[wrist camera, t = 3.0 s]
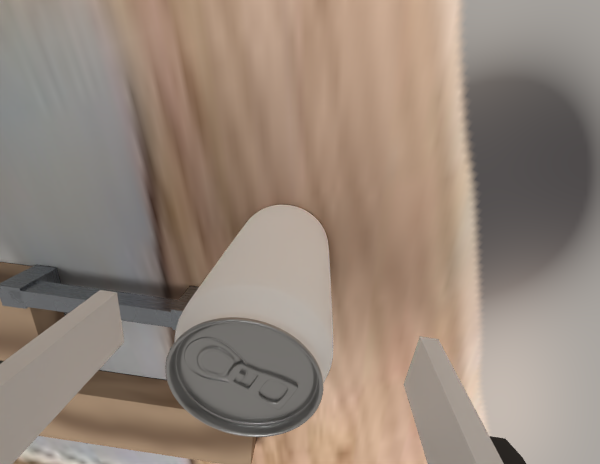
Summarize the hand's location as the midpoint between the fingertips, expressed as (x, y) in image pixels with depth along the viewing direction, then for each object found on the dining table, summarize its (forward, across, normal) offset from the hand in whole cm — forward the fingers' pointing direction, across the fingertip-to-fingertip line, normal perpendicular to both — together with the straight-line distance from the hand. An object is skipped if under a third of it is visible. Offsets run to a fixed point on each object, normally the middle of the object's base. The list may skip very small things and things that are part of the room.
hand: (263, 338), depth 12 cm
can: (+10, 0, 0) cm, 10 cm away
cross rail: (+9, -13, -5) cm, 17 cm away
